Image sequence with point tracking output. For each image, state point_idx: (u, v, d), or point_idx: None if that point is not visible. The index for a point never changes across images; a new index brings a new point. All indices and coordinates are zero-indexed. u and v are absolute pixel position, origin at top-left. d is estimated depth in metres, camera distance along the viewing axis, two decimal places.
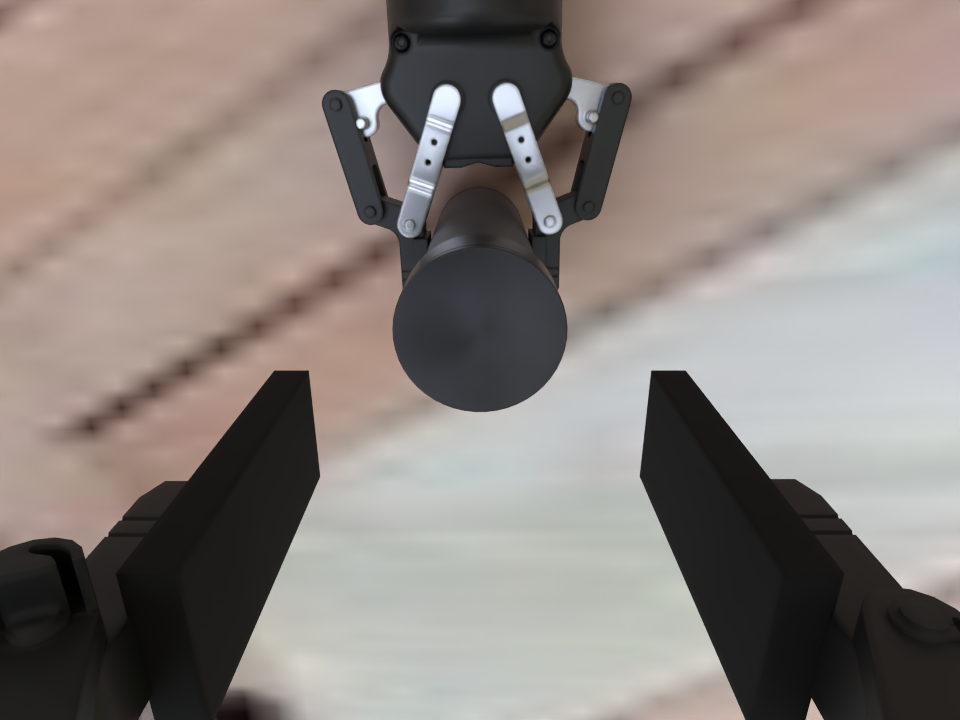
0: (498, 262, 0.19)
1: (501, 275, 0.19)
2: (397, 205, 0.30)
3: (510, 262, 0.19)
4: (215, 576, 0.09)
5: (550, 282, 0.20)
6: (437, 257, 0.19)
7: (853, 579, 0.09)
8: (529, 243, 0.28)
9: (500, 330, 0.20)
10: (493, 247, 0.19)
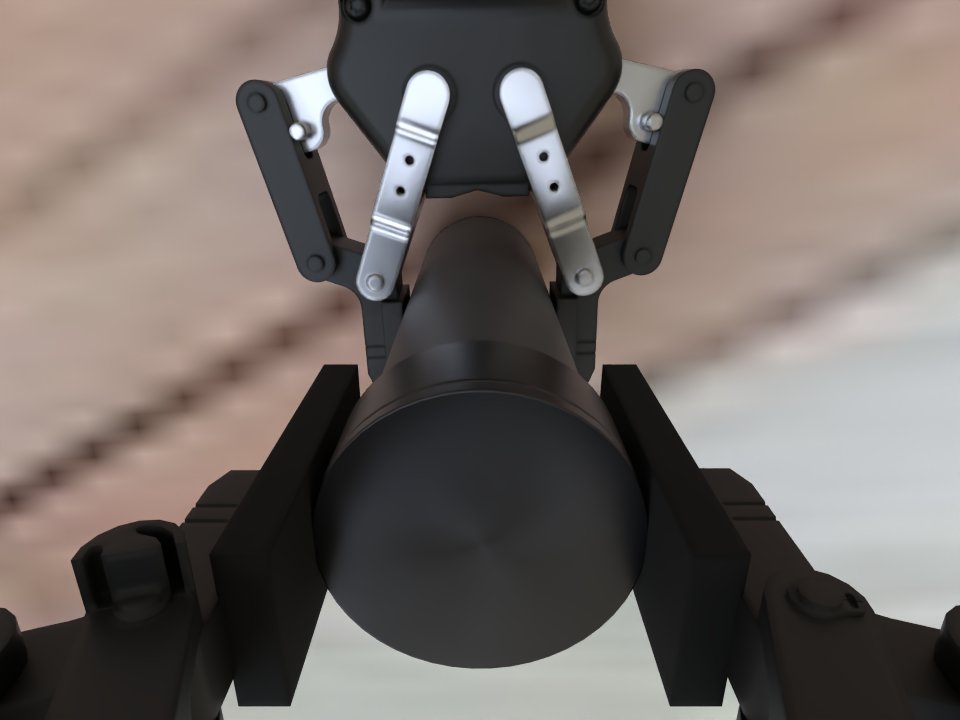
0: (517, 418, 0.10)
1: (523, 442, 0.10)
2: (357, 252, 0.20)
3: (541, 418, 0.10)
4: (293, 560, 0.09)
5: (620, 453, 0.10)
6: (394, 408, 0.10)
7: (768, 562, 0.09)
8: (556, 316, 0.18)
9: (519, 537, 0.10)
10: (507, 388, 0.10)
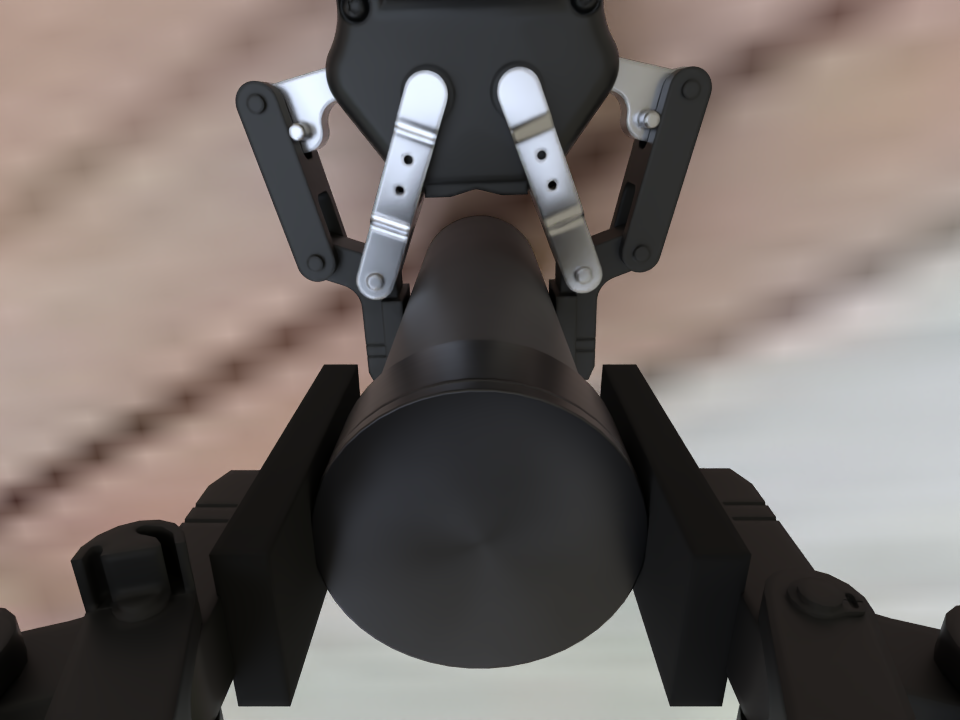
0: (335, 544, 0.10)
1: (357, 535, 0.10)
2: (357, 252, 0.20)
3: (328, 525, 0.10)
4: (293, 561, 0.09)
5: (340, 451, 0.10)
6: (363, 627, 0.11)
7: (768, 562, 0.09)
8: (555, 313, 0.18)
9: (462, 512, 0.10)
10: None
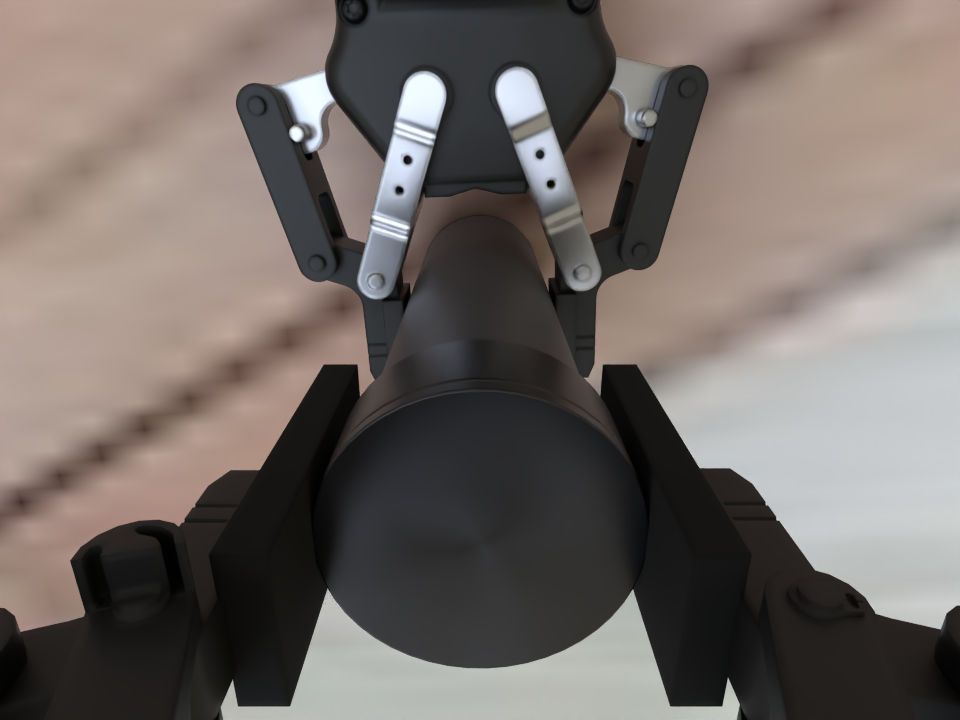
0: (514, 648, 0.11)
1: (499, 636, 0.11)
2: (357, 252, 0.20)
3: (496, 655, 0.11)
4: (292, 560, 0.09)
5: (418, 656, 0.11)
6: (612, 612, 0.11)
7: (768, 562, 0.09)
8: (554, 311, 0.18)
9: (449, 563, 0.11)
10: (532, 656, 0.12)
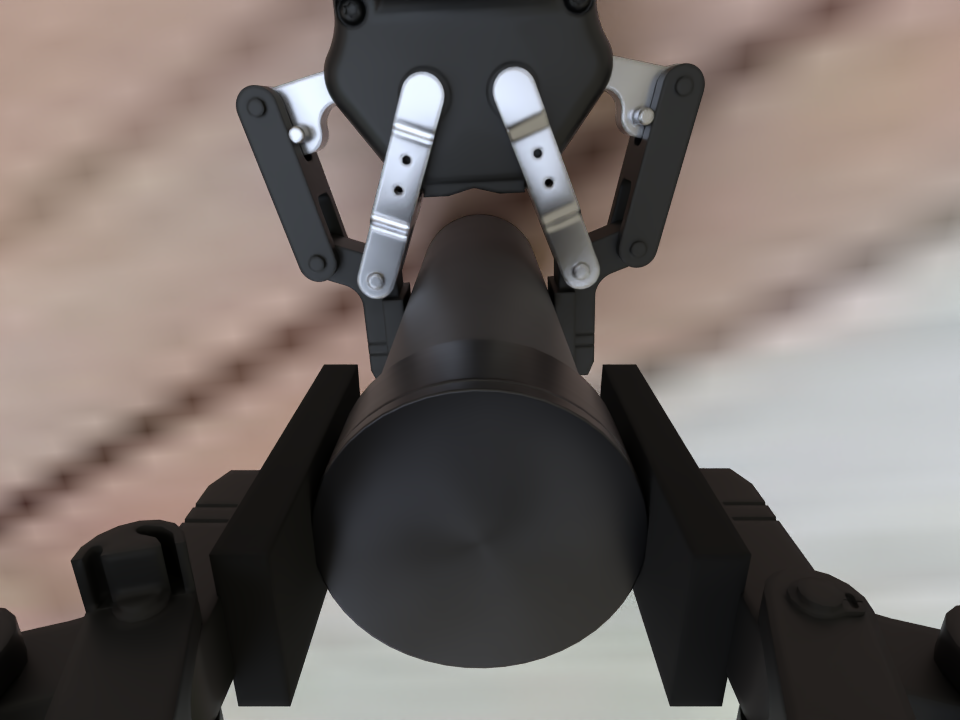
0: (611, 482, 0.10)
1: (595, 501, 0.10)
2: (357, 251, 0.20)
3: (625, 496, 0.10)
4: (293, 560, 0.09)
5: (641, 563, 0.11)
6: (540, 397, 0.10)
7: (768, 562, 0.09)
8: (553, 309, 0.18)
9: (511, 562, 0.11)
10: (625, 455, 0.10)
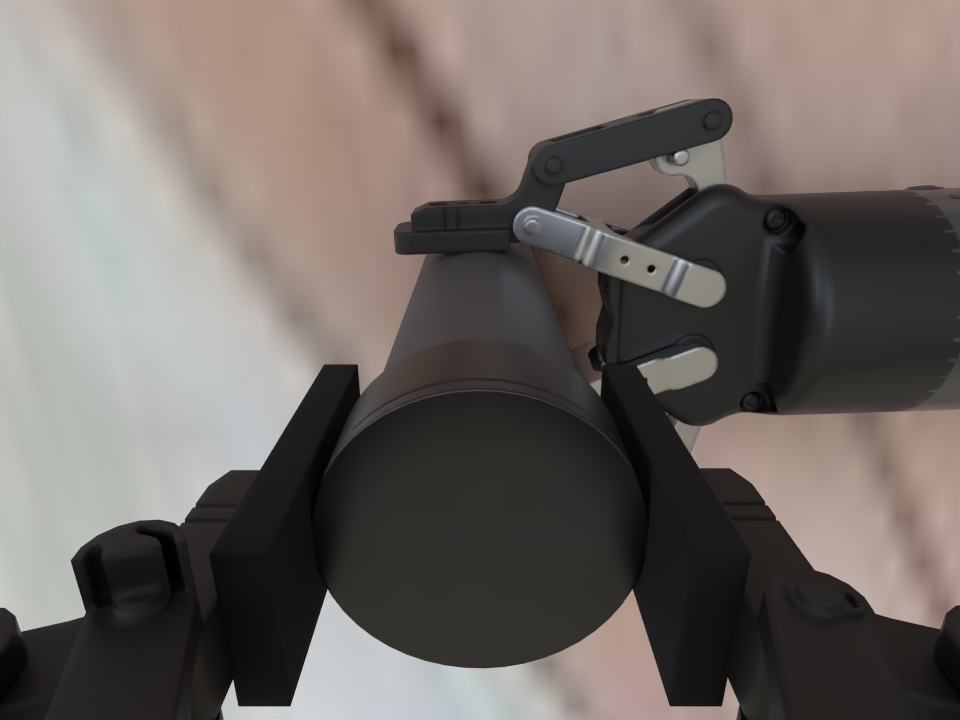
0: (611, 483, 0.10)
1: (595, 502, 0.10)
2: (557, 203, 0.20)
3: (625, 497, 0.10)
4: (293, 560, 0.09)
5: (640, 564, 0.11)
6: (540, 397, 0.10)
7: (768, 562, 0.09)
8: None
9: (511, 562, 0.11)
10: (625, 456, 0.10)
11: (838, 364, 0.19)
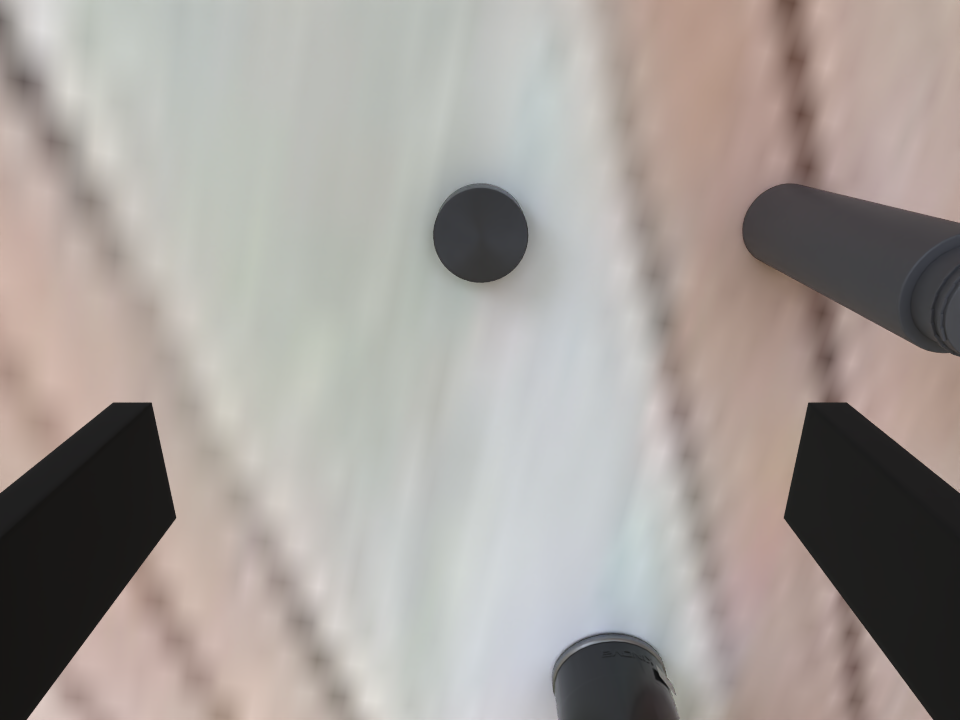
0: (516, 216, 0.37)
1: (512, 222, 0.37)
2: None
3: (520, 221, 0.37)
4: None
5: (526, 244, 0.37)
6: (496, 190, 0.36)
7: None
8: None
9: (489, 243, 0.37)
10: (520, 208, 0.37)
11: None
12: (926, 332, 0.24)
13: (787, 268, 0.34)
